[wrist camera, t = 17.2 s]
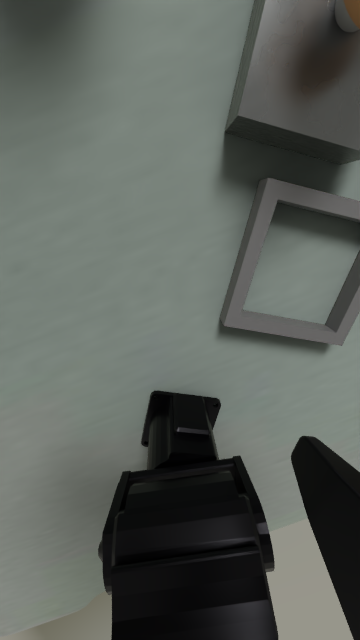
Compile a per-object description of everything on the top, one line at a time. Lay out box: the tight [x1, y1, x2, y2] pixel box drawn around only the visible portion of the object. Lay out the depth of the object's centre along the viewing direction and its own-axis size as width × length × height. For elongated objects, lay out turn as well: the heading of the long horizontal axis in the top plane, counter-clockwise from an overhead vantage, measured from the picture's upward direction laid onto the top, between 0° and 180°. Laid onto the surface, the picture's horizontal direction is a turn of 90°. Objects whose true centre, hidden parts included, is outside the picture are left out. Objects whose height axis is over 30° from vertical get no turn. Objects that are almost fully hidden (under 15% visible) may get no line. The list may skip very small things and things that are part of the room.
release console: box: [225, 0, 360, 165], centre depth 13 cm, size 10×8×3 cm
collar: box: [220, 178, 360, 346], centre depth 19 cm, size 10×10×2 cm
